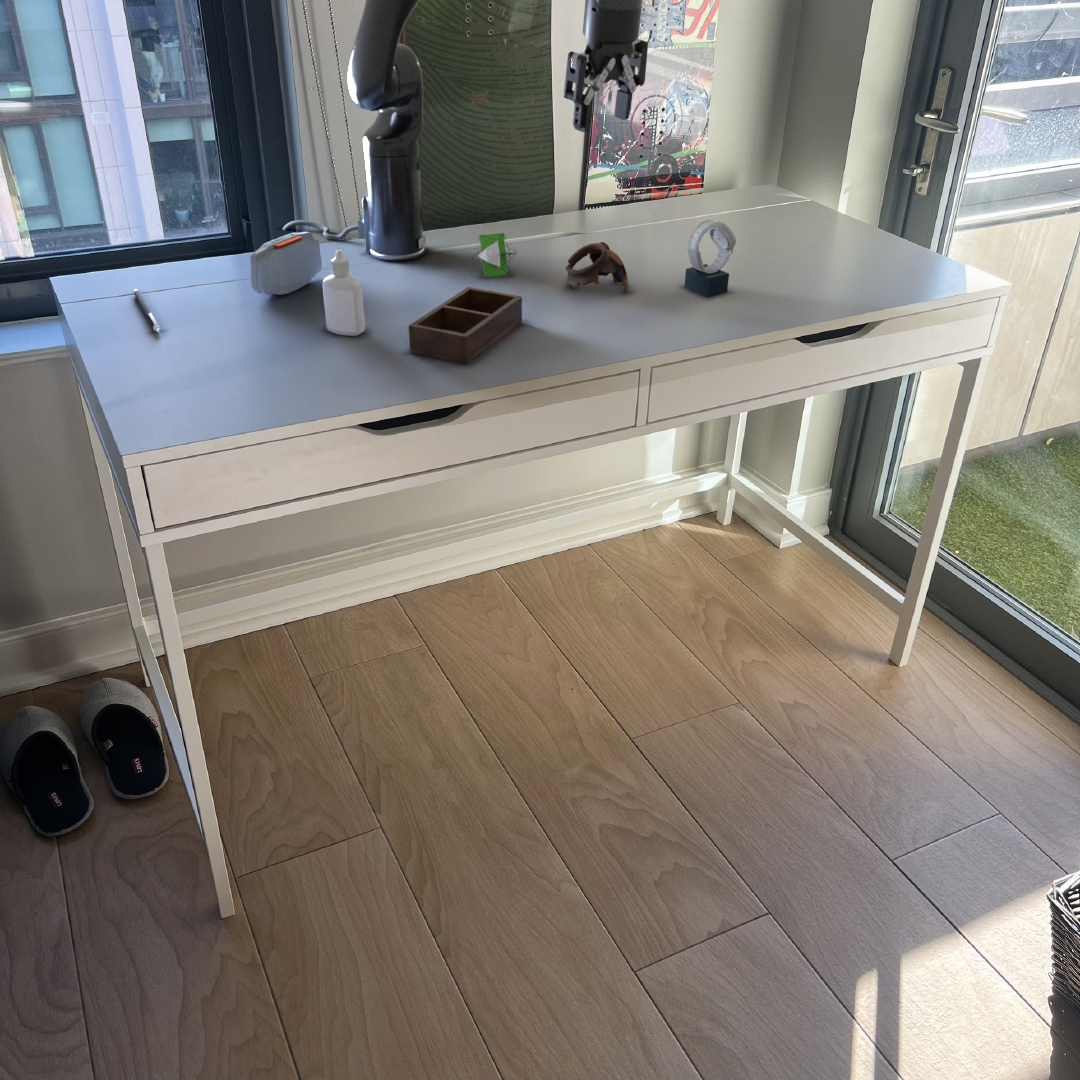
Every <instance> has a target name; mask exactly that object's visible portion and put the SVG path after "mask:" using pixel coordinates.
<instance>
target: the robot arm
mask: <svg viewBox="0 0 1080 1080" xmlns="http://www.w3.org/2000/svg"><path fill="white" fill-rule="evenodd" d="M584 1H585V2H584V11H583V12H584V13H583V23H582V34H583V36H584V38H585V40H586V46H585V49H584V51H583V52H575V51H569V52H568V54H567V59H566V67H565V68H566V69H565V75H564V76H565V77H564V84H563V94H562V95H563V98H564V99H566V100H569V101H572V102H573V115H572V126H573V128H574V129H575V130H576V131H579V132H581V133H585V132H588V131H589V127H590V117H591V107H592V105H591V102H592V100H593V97H594V96H595V94H596V92H598V91H600V90H601V89H602V87H603V85H604V84H607V83H609V82H610V81H615V83H616V86H617V88H618V89H617V90H616V94H615V103H614V104H615V105H614V117H615V118H616V119H620V120H622V121H626V120H628V119H629V118H630V113H631V110H632V102H633V93H635V92H636V90H637V87H639V86H640V87H643V86H644V85H645V81H646V71H647V63H648V49H649V42H648V41H646V40H643V39H640V38H639V33H640V25H641V17H642V7H643V0H584ZM419 2H420V0H365V3H364V7H363V11H362V14H361V17H360V21H359V25H358V29H357V32H356V36H355V39H354V41H353V45H352V48H351V52H350V56H349V59H348V65H347V72H346V74H347V75H346V80H347V81H346V82H347V87H348V90H349V95H350V97H351V99H352V101H353V102H354V103H355V105H356V106H357V107H359V109H361V110H364V111H367V112H378V113H377V114H376V115H377V116H376V117H375V120H374V121H373V123H372V124H371V125H370V126H369V127H368V128H367V129H366V130H365V131H364V132H363V133H362V151H363V164H364V177H365V190H366V195H365V196H364V197H362V199H361V207H362V218H359V219H358V220H357V223H356V224H353V225H349V226H347V227H345V228H344V229H343V231H342V232H341V233H339V234H331V233H330V232H331V229H330V228H329V227H328V226H326V225H323V224H320V223H317V222H314V221H310V220H304V219H302V220H301V219H299V220H298V219H297V220H292V221H290V222H288V223H286V224H285V225H284V226H283V227H282V230H283V231H289V230H290V229H291V228H292V227H296V226H305V227H306V226H307V227H310V228H314V229H317V230H320V231H323V232H322V236H323V237H324V238H325V239H328V240H333V241H341V240H343V239H345V238H346V237H347V235H348V234H349V233H350V232H353V231H357V232H358V239H363V240H364V243H365V244H364V245H365V253H366V254H369V255H370V256H372V257H373V258H376V259H380V260H383V261H396V262H397V261H409V260H413V259H416V258H419V257H421V256H423V255H424V253H425V245H426V234H424V224H423V221H424V220H423V203H422V179H421V161H420V139H421V136H422V133H423V129H424V128H423V127H424V83H423V73H422V68H421V65H420V62H419V58H418V57H417V55H416V53H415V52H414V51H413V50H412V48H410V47H409V46H407V45H405V44H403V43H399V42H400V38H401V34H402V32H403V29H404V27H405V25H406V23H407V21H408V19H409V18H410V16H411V14H412V12H413V11H414V10H415V9H416V7H417V6H418V4H419ZM636 69H637V73H636ZM589 76H590V78H591V79H590V78H589ZM573 87H574V90H573ZM586 88H587V90H586V91H585V89H586ZM584 91H585V92H584Z"/></svg>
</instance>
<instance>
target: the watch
mask: <svg viewBox="0 0 1080 1080" xmlns="http://www.w3.org/2000/svg"><path fill="white" fill-rule="evenodd" d="M706 233H707V234H708V235H709V236H710V239H711V240H712V242H713V243H714V244H715V246H716V249H717V250H718V253H717V255H716V256H715V259H714V260H713V261H712V263H710V264H707V263H703V259H702V255H701V252H700V242H701V241H702V238H703V237H704V236H705V234H706ZM736 244H737V239H736V236H735V234H734V232H733V230H732V229H731V228H730V227H729V226H728V225H727V224H726V223H724V222H723V221H720V220H715V221H714V220H711V219H707V220H704V221H702V222H700V223H699V224H697V226H695V228H694V229H693V230H692V233H691V235H690V237H689V240H688V244H687V245H688V247H687V255H688V259H689V262H690V264H691V267H688V268H685V274H684V287H683V288H685V289H686V290H689V291H691V292H693V293H695V294H698V295H700V296H702V297H705V298H711V297H715V296H718V295H719V296H720V295H723V294H727V293H728V289H729V279H730V273H729V272H727V271H724V270H722V268H723V267H724V266H725V265H726V264H727V262H728V261H729V259H730V257H731V255H732V254H733V252H734V247H735V245H736Z"/></svg>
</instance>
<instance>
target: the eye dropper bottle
mask: <svg viewBox="0 0 1080 1080" xmlns="http://www.w3.org/2000/svg"><path fill="white" fill-rule="evenodd" d="M330 266H331V274H329V275H328V276H326V277H325V278H324V279H323V280H322V295H323V305H324V315H325V324H326V329H327V330H328V331H329V332H331V333H333V334H336V335H340V336H350V337H351V336H352V337H354V336H355V337H356V336H359V335H361V334H362V333H363V332H365V330H366V323H365V322H366V321H365V311H364V299H363V298H364V297H363V289H362V288H363V287H362V283H361V281H360V280H358V278H356V277H355V276H353V275H351V274H350V262H349V259H348V257H347V258H346V257H344V254H343V252H342V249H336V250H335V257H333V258H332V259H331V260H330Z"/></svg>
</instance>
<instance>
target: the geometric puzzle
mask: <svg viewBox="0 0 1080 1080" xmlns="http://www.w3.org/2000/svg"><path fill="white" fill-rule="evenodd" d="M506 238H507V236H506V235H505V232H500V233H491V234H479V235H478V239H477V240H479V243H478V245H475V248H474V251H473V253H472V254H473V255H472V256H471V257H470V259H472V261H473V262H474V264H475V266H476V267H477V269H478V270H479V271H480V273H481V274H482V276H483V278H490V277H499V276H509V275H510V274H509V273H510V270H511V267H510V266H508V262H510V259H511V258H513V257H516V255H517V254H518V252H517V251H515V249H512V248H511V247H508V242H509V243H510V245H512V244H511V242H510V241H509V239H508V238H507V239H506ZM507 240H508V242H507ZM505 243H506V244H505ZM476 246H477V248H479V246H480V250H477V252H476V253H475V254H474V252H475V250H476ZM506 247H507V250H508V252H507V250H506ZM510 250H512V252H510ZM479 252H480V253H479ZM476 258H477V260H476ZM507 258H508V259H507ZM479 259H481V262H480V260H479ZM475 261H476V262H477V263H479V266H480V269H481V270H480V269H479V267H478V265H477V264H476V262H475ZM513 263H514V262H512V263H511V265H513Z"/></svg>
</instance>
